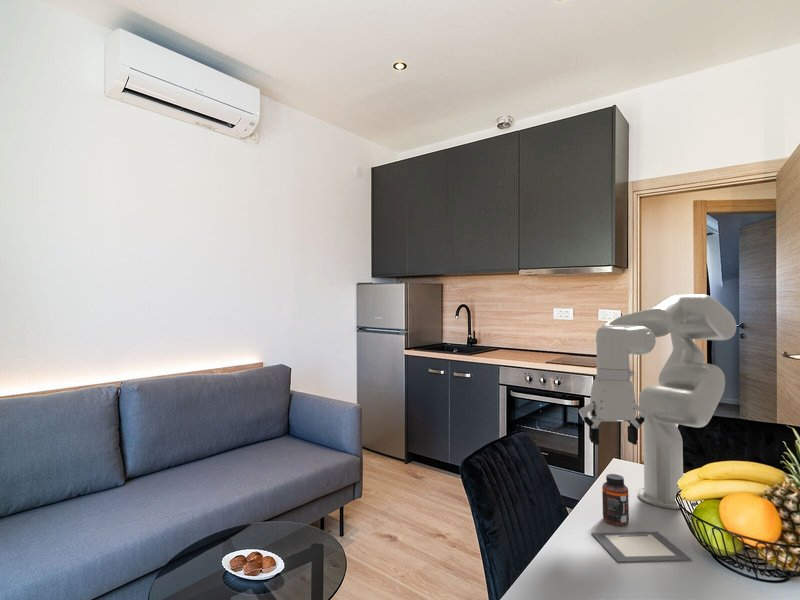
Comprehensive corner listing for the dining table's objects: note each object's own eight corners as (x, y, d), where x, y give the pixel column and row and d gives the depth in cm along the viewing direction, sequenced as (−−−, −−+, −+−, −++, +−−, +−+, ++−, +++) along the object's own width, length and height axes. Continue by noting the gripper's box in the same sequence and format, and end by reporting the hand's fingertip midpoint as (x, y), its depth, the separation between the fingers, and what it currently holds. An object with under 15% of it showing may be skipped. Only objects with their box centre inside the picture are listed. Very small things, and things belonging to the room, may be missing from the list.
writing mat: (657, 532, 107) (657, 530, 107) (691, 560, 95) (691, 558, 95) (591, 534, 106) (591, 532, 106) (617, 562, 94) (617, 560, 94)
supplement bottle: (632, 528, 109) (631, 481, 109) (606, 526, 110) (605, 480, 110) (625, 517, 115) (624, 472, 115) (600, 515, 116) (599, 471, 116)
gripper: (637, 373, 117) (638, 439, 117) (573, 373, 117) (573, 439, 116) (655, 377, 110) (656, 447, 109) (586, 377, 109) (586, 447, 109)
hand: (613, 443), depth 113 cm, fingers open, 9 cm apart
